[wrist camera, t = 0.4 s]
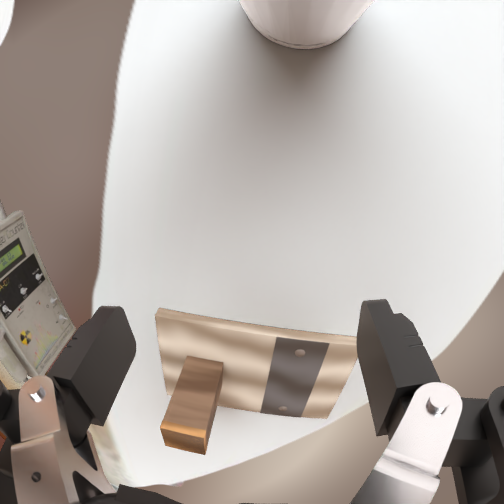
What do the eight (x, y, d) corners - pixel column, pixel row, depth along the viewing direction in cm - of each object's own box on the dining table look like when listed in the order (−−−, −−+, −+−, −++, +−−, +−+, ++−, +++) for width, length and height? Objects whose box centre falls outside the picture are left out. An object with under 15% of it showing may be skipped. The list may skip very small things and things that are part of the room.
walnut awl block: (187, 355, 37) (159, 427, 27) (223, 362, 36) (204, 437, 27) (188, 377, 39) (165, 445, 29) (222, 384, 39) (205, 454, 29)
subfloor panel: (159, 307, 36) (154, 316, 34) (361, 337, 34) (363, 347, 33) (169, 387, 43) (166, 395, 42) (326, 410, 42) (327, 419, 40)
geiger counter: (36, 399, 28) (-68, 214, 17) (10, 390, 29) (-81, 224, 18) (82, 331, 40) (15, 170, 29) (55, 329, 42) (-8, 182, 31)
